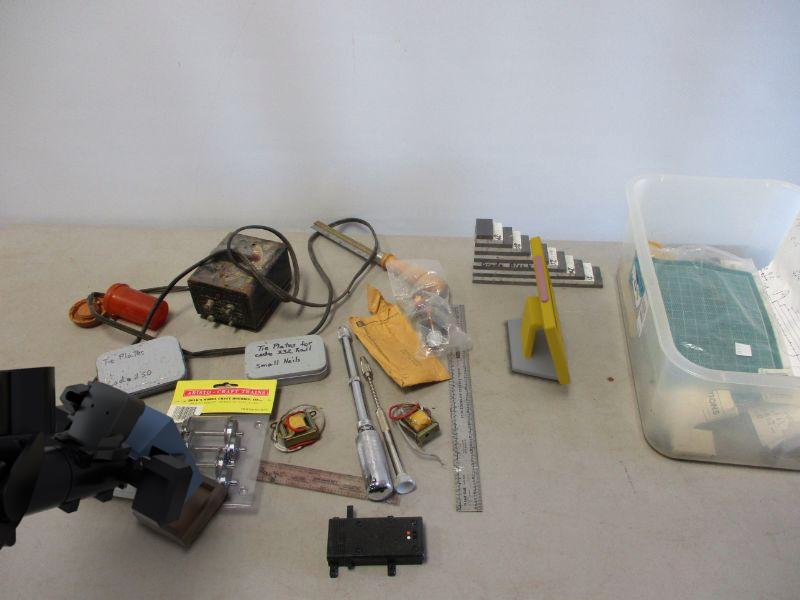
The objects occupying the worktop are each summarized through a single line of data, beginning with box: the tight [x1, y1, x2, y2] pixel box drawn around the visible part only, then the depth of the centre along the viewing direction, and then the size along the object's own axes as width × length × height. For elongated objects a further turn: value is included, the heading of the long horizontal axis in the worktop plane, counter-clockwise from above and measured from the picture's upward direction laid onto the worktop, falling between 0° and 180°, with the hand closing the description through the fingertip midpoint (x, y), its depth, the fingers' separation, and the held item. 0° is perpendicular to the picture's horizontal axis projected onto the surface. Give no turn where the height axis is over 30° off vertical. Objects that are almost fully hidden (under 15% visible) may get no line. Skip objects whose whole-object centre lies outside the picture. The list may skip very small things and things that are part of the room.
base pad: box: [131, 473, 228, 548], centre depth 76 cm, size 8×8×3 cm
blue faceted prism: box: [122, 404, 204, 504], centre depth 69 cm, size 5×5×13 cm
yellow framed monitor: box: [507, 236, 572, 386], centre depth 91 cm, size 20×8×16 cm, turn 176°
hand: (167, 449), depth 69 cm, fingers closed on blue faceted prism, 5 cm apart
